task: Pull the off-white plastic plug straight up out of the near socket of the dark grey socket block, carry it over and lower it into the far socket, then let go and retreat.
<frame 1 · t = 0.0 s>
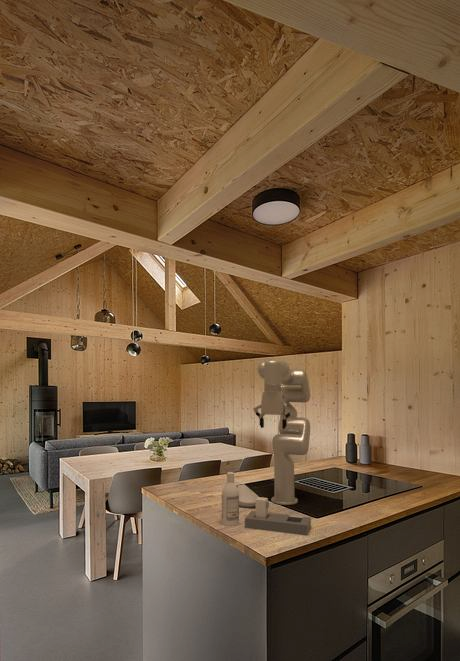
hand: (272, 428, 181), 37 cm above the counter, tool pointing down, fingers open, 9 cm apart
bath foam: (230, 525, 165), on the counter
spoon rest: (243, 503, 197), on the counter
plug: (261, 525, 163), resting on socket block
socket block: (277, 528, 161), on the counter
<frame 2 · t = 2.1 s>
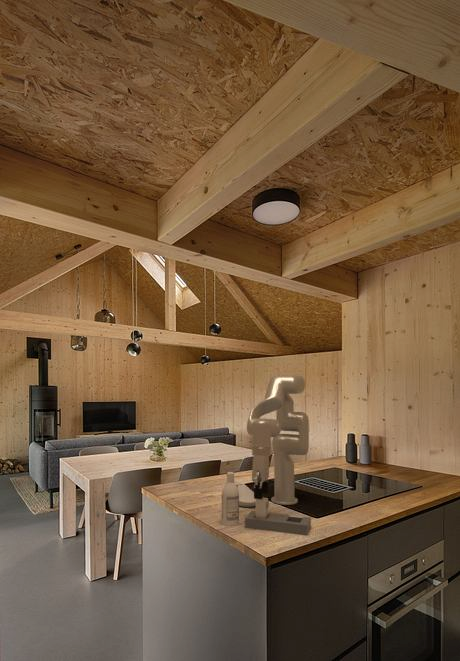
hand: (261, 496, 164), 12 cm above the counter, tool pointing down, fingers open, 9 cm apart
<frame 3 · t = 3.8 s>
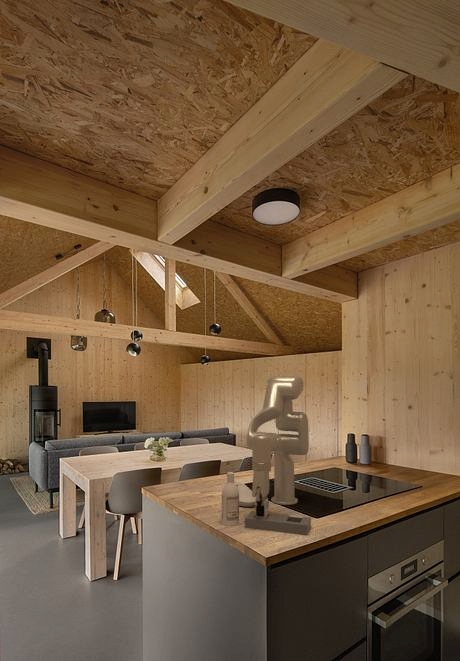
hand: (261, 513, 164), 5 cm above the counter, tool pointing down, fingers closed on plug, 4 cm apart
plug: (261, 525, 163), point 1 cm above the counter, touching gripper, socket block
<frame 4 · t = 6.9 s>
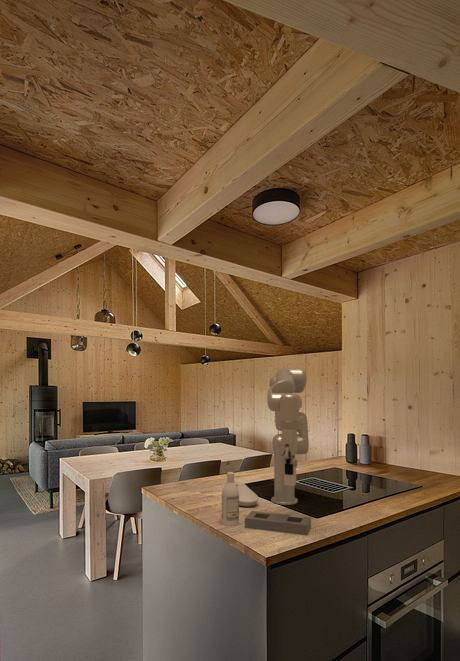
hand: (290, 472, 162), 21 cm above the counter, tool pointing down, fingers closed on plug, 4 cm apart
plug: (290, 484, 162), point 17 cm above the counter, touching gripper
when the fingers open (6 cm above the counter, at t = 10.0 s): plug stays where it is, resting on socket block.
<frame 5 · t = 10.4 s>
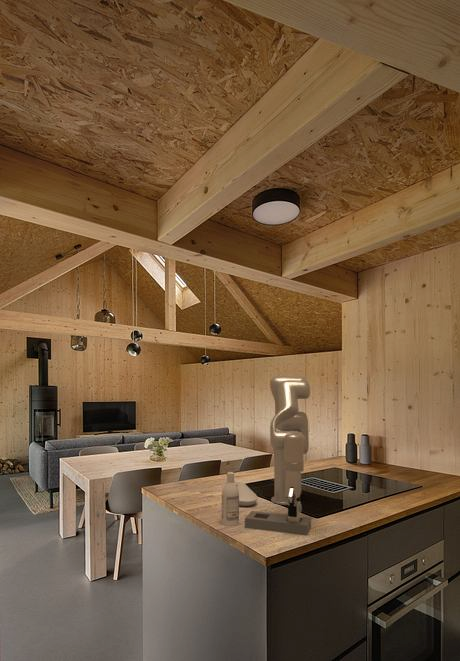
hand: (294, 512, 160), 6 cm above the counter, tool pointing down, fingers open, 8 cm apart
plug: (294, 529, 159), resting on socket block
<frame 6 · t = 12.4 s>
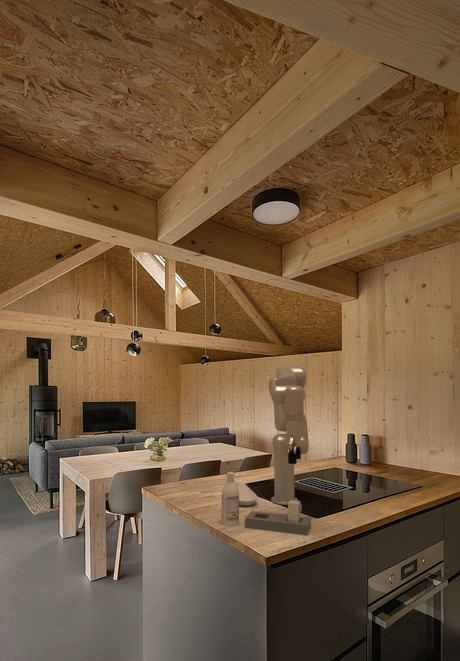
hand: (294, 461, 165), 25 cm above the counter, tool pointing down, fingers open, 9 cm apart
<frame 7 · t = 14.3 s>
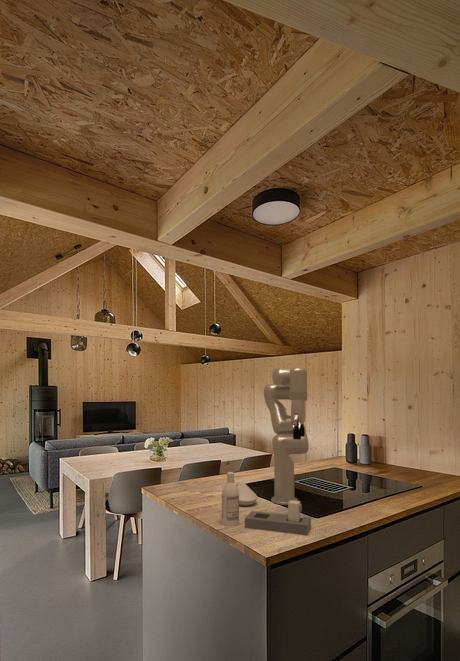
hand: (299, 437, 175), 33 cm above the counter, tool pointing down, fingers open, 9 cm apart
at the end: plug 0.1 cm from the target spot on the socket block, point 0.5 cm above the socket block's base; plug tilted 0°; the gripper is holding nothing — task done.
